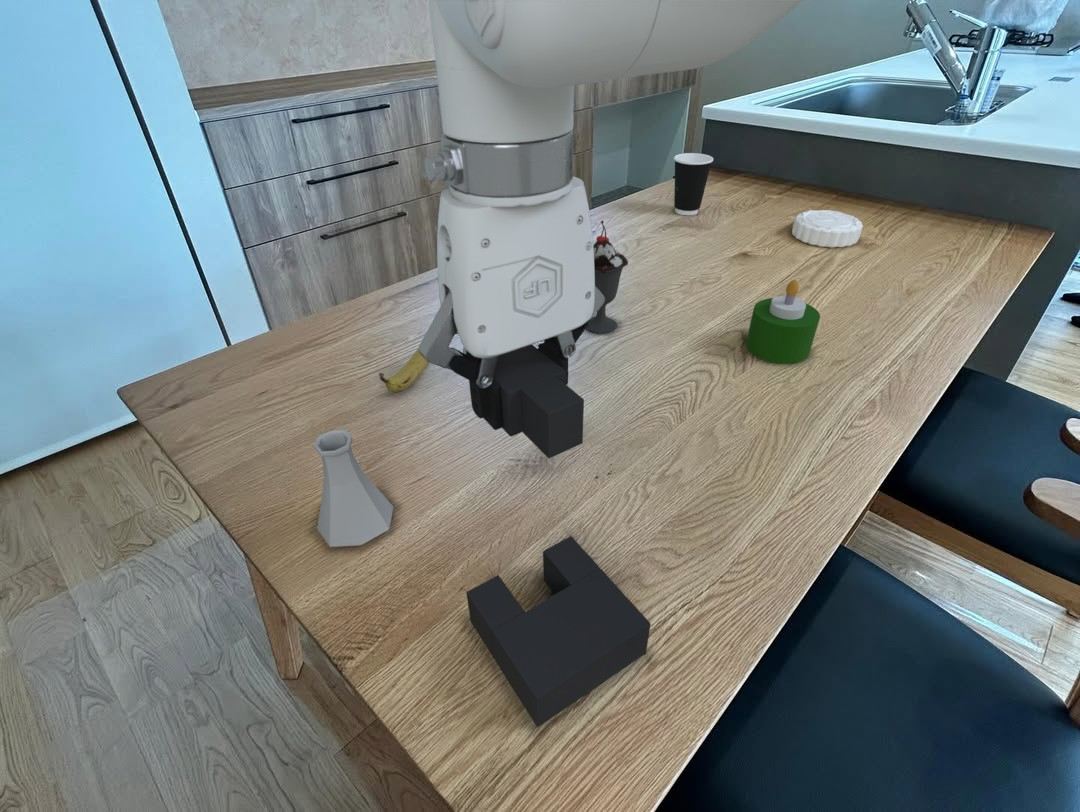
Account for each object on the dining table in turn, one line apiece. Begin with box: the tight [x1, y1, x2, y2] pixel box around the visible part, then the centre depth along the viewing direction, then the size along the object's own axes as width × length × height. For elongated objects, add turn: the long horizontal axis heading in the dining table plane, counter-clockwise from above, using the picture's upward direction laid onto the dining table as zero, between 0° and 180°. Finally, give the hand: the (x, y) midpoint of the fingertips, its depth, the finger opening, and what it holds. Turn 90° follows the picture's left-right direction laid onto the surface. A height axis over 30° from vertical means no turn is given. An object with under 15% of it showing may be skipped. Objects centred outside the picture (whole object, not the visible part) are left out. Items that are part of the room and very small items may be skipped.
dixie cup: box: [673, 152, 714, 216], centre depth 123 cm, size 8×8×11 cm
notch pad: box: [465, 535, 652, 728], centre depth 45 cm, size 10×10×4 cm
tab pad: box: [494, 344, 585, 459], centre depth 44 cm, size 9×5×4 cm, turn 33°
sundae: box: [585, 220, 629, 334], centre depth 82 cm, size 7×7×15 cm
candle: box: [745, 279, 821, 365], centre depth 78 cm, size 8×8×10 cm
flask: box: [313, 429, 395, 548], centre depth 54 cm, size 7×7×10 cm
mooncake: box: [791, 209, 864, 249], centre depth 112 cm, size 12×12×4 cm
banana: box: [378, 348, 430, 393], centre depth 74 cm, size 10×2×4 cm, turn 148°
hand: (521, 405), depth 46 cm, fingers closed on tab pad, 5 cm apart
